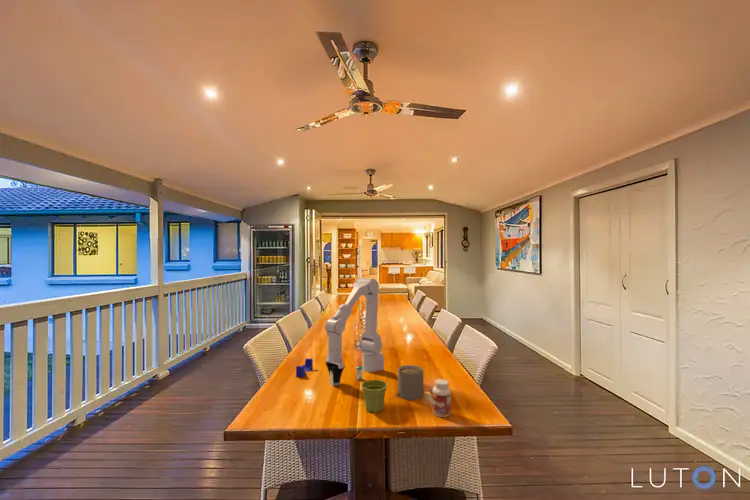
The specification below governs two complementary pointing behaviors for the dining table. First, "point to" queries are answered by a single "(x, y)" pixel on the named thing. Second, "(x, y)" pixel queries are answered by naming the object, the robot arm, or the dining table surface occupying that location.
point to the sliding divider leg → (332, 379)
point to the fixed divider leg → (359, 372)
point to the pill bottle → (441, 398)
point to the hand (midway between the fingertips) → (334, 381)
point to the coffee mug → (410, 382)
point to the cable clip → (304, 368)
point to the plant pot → (374, 394)
